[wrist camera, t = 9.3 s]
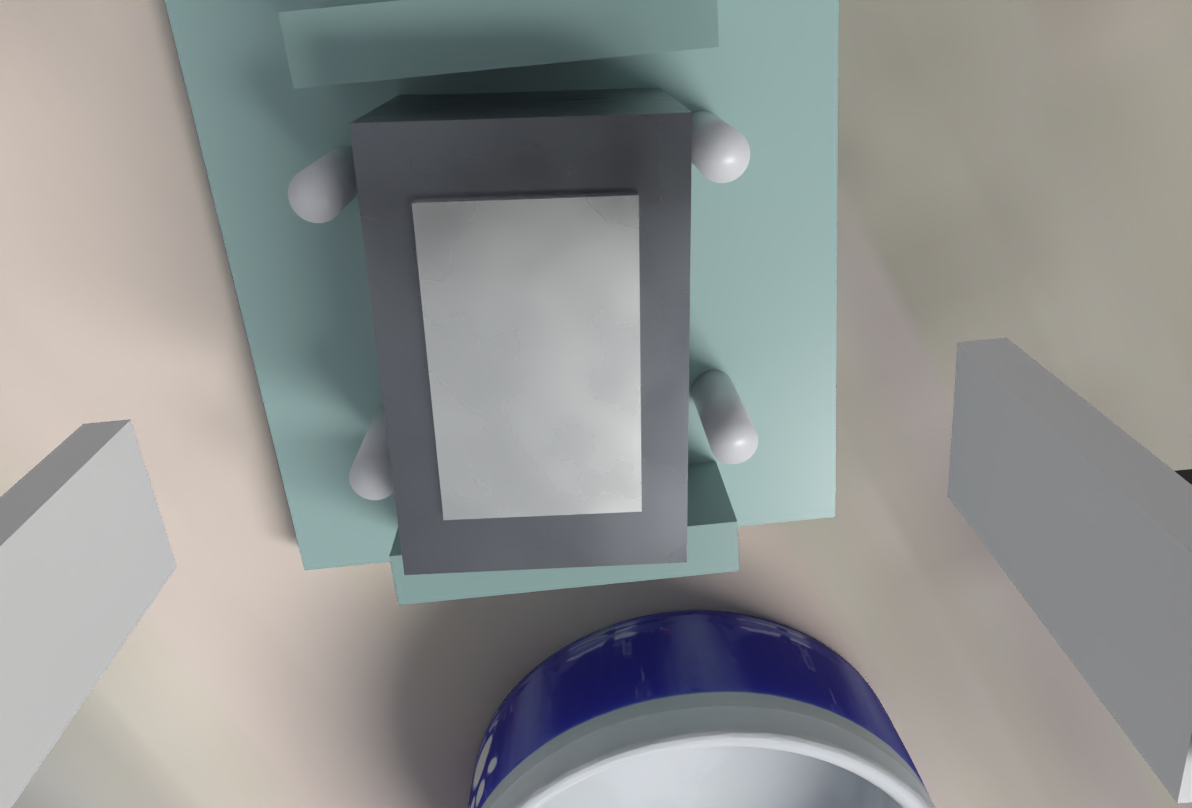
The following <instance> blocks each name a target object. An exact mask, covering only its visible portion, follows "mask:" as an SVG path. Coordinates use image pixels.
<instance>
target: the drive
mask: <svg viewBox="0 0 1192 808" xmlns="http://www.w3.org/2000/svg"><path fill="white" fill-rule="evenodd" d="M349 126H350V134H351V142H352V150H353V159H354V167H355V175H356V183H357V191H358V199H359V208H360V216H361V224H362V232H363V240H364V249H365V257H366V265H367V273H368V281H369V290H370V298H371V306H372V314H373V322H374V331H375V339H376V347H377V355H378V363H379V371H380V380H381V388H382V396H383V404H384V412H385V421H386V429H387V437H388V445H389V453H390V462H391V470H392V478H393V486H394V494H395V503H396V511H397V519H398V527H399V535H400V543H401V552H402V560H403V568H404V575H419V574H441V573H463V572H485V571H507V570H529V569H552V568H574V567H596V566H618V565H640V564H662V563H685V562H687V509H688V423H689V337H690V251H691V165H692V112H691V111H690V110H688V109H687V108H686V107H685V106H683V105H682V104H681V103H679V102H678V101H677V100H675V99H674V98H673V97H672V96H670V95H669V94H668V93H666V92H665V91H664V90H663V89H661V88H660V87H657V88H625V89H593V90H561V91H529V92H498V93H466V94H434V95H402V96H396V97H394V98H392V99H391V100H389V101H387V102H385V103H384V104H382V105H380V106H378V107H377V108H375V109H373V110H372V111H370V112H368V113H366V114H365V115H363V116H361V117H359V118H358V119H356V120H354V121H352V122H351V123H349Z"/></svg>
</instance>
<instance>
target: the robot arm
mask: <svg viewBox="0 0 1192 808" xmlns="http://www.w3.org/2000/svg"><path fill="white" fill-rule="evenodd" d="M948 497H949V498H950V500H951V501H952V502H953V504H954V505H955V506H956V508H957V509H958V510H959V512H960V513H961V514H962V516H963V517H964V518H965V520H966V521H967V522H968V524H969V525H970V526H971V528H972V529H973V530H974V532H975V533H976V534H977V536H978V537H979V538H980V540H981V541H982V542H983V544H984V545H985V546H986V548H987V549H988V550H989V552H990V553H991V555H992V556H993V557H994V559H995V560H996V561H997V563H998V564H999V565H1000V567H1001V568H1002V569H1003V571H1004V572H1005V573H1006V575H1007V576H1008V577H1009V579H1010V580H1011V581H1012V583H1013V584H1014V585H1015V587H1016V588H1017V589H1018V591H1019V592H1020V593H1021V595H1022V596H1023V597H1024V599H1025V600H1026V601H1027V603H1028V604H1029V605H1030V607H1031V608H1032V609H1033V611H1034V612H1035V613H1036V615H1037V616H1038V617H1039V619H1040V620H1041V621H1042V623H1043V624H1044V625H1045V627H1046V628H1047V629H1048V631H1049V632H1050V633H1051V635H1052V636H1053V637H1054V639H1055V640H1056V641H1057V643H1058V644H1059V646H1060V647H1061V648H1062V650H1063V651H1064V652H1065V654H1066V655H1067V656H1068V658H1069V659H1070V660H1071V662H1072V663H1073V664H1074V666H1075V667H1076V668H1077V670H1078V671H1079V672H1080V674H1081V675H1082V676H1083V678H1084V679H1085V680H1086V682H1087V683H1088V684H1089V686H1090V687H1091V688H1092V690H1093V691H1094V692H1095V694H1096V695H1097V696H1098V698H1099V699H1100V700H1101V702H1102V703H1103V704H1104V706H1105V707H1106V708H1107V710H1108V711H1109V712H1110V714H1111V715H1112V716H1113V718H1114V719H1115V720H1116V722H1117V723H1118V724H1119V726H1120V727H1121V728H1122V730H1123V731H1124V732H1125V734H1126V735H1127V737H1128V738H1129V739H1130V741H1131V742H1132V743H1133V745H1134V746H1135V747H1136V749H1137V750H1138V751H1139V753H1140V754H1141V755H1142V757H1143V758H1144V759H1145V761H1146V762H1147V763H1148V765H1149V766H1150V767H1151V769H1152V770H1153V771H1154V773H1155V774H1156V775H1157V777H1158V778H1159V779H1160V781H1161V782H1162V783H1163V785H1164V786H1165V787H1166V789H1167V790H1168V791H1169V793H1170V794H1171V795H1172V797H1173V798H1174V799H1175V801H1176V802H1177V803H1186V802H1192V469H1190V470H1179V471H1174V470H1172V469H1171V468H1170V467H1168V466H1167V465H1166V464H1165V463H1163V462H1162V461H1161V460H1160V459H1158V458H1157V457H1156V456H1155V455H1153V454H1152V453H1151V452H1150V451H1148V450H1147V449H1146V448H1145V447H1143V446H1142V445H1141V444H1140V443H1138V442H1137V441H1136V440H1134V439H1133V438H1132V437H1131V436H1129V435H1128V434H1127V433H1126V432H1124V431H1123V430H1122V429H1121V428H1119V427H1118V426H1117V425H1116V424H1114V423H1113V422H1112V421H1111V420H1109V419H1108V418H1107V417H1106V416H1104V415H1103V414H1102V413H1100V412H1099V411H1098V410H1097V409H1095V408H1094V407H1093V406H1092V405H1090V404H1089V403H1088V402H1087V401H1085V400H1084V399H1083V398H1082V397H1080V396H1079V395H1078V394H1077V393H1075V392H1074V391H1073V390H1072V389H1070V388H1069V387H1068V386H1067V385H1065V384H1064V383H1063V382H1061V381H1060V380H1059V379H1058V378H1056V377H1055V376H1054V375H1053V374H1051V373H1050V372H1049V371H1048V370H1046V369H1045V368H1044V367H1043V366H1041V365H1040V364H1039V363H1038V362H1036V361H1035V360H1034V359H1033V358H1031V357H1030V356H1029V355H1027V354H1026V353H1025V352H1024V351H1022V350H1021V349H1020V348H1019V347H1017V346H1016V345H1015V344H1014V343H1012V342H1011V341H1010V340H1009V339H1007V338H999V339H988V340H977V341H966V342H958V343H957V359H956V375H955V391H954V407H953V422H952V438H951V454H950V470H949V486H948ZM176 567H177V566H176V562H175V559H174V556H173V553H172V550H171V546H170V543H169V540H168V537H167V534H166V530H165V527H164V524H163V521H162V518H161V514H160V511H159V508H158V505H157V502H156V498H155V495H154V492H153V489H152V486H151V482H150V479H149V476H148V473H147V470H146V466H145V463H144V460H143V457H142V454H141V450H140V447H139V444H138V441H137V438H136V434H135V431H134V428H133V425H132V422H131V420H121V421H110V422H100V423H89V424H83V425H82V426H80V427H79V428H78V429H77V430H76V431H75V432H74V433H73V434H71V435H70V436H69V437H68V438H67V439H66V440H65V441H63V442H62V443H61V444H60V445H59V446H58V447H57V448H56V449H54V450H53V451H52V452H51V453H50V454H49V455H48V456H47V457H45V458H44V459H43V460H42V461H41V462H40V463H39V464H38V465H36V466H35V467H34V468H33V469H32V470H31V471H30V472H29V473H27V474H26V475H25V476H24V477H23V478H22V479H21V480H19V481H18V482H17V483H16V484H15V485H14V486H13V487H12V488H10V489H9V490H8V491H7V492H6V493H5V494H4V495H3V496H1V497H0V808H11V807H12V806H13V804H14V803H15V801H16V800H17V798H18V797H19V795H20V794H21V793H22V791H23V790H24V788H25V787H26V785H27V784H28V782H29V781H30V779H31V778H32V777H33V775H34V774H35V772H36V771H37V769H38V768H39V766H40V765H41V763H42V762H43V761H44V759H45V758H46V756H47V755H48V753H49V752H50V750H51V749H52V747H53V746H54V744H55V743H56V742H57V740H58V739H59V737H60V736H61V734H62V733H63V731H64V730H65V728H66V727H67V726H68V724H69V723H70V721H71V720H72V718H73V717H74V715H75V714H76V712H77V711H78V710H79V708H80V707H81V705H82V704H83V702H84V701H85V699H86V698H87V696H88V695H89V694H90V692H91V691H92V689H93V688H94V686H95V685H96V683H97V682H98V680H99V679H100V677H101V676H102V675H103V673H104V672H105V670H106V669H107V667H108V666H109V664H110V663H111V661H112V660H113V659H114V657H115V656H116V654H117V653H118V651H119V650H120V648H121V647H122V645H123V644H124V643H125V641H126V640H127V638H128V637H129V635H130V634H131V632H132V631H133V629H134V628H135V626H136V625H137V624H138V622H139V621H140V619H141V618H142V616H143V615H144V613H145V612H146V610H147V609H148V608H149V606H150V605H151V603H152V602H153V600H154V599H155V597H156V596H157V594H158V593H159V592H160V590H161V589H162V587H163V586H164V584H165V583H166V581H167V580H168V578H169V577H170V575H171V574H172V573H173V571H174V570H175V568H176Z"/></svg>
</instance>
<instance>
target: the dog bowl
mask: <svg viewBox="0 0 1192 808" xmlns="http://www.w3.org/2000/svg"><path fill="white" fill-rule="evenodd" d="M468 808H936V807H935V806H934V804H933V802H932V800H931V798H930V796H929V794H928V792H927V790H926V788H925V786H924V784H923V782H922V780H921V778H920V776H919V774H918V772H917V770H916V768H915V766H914V764H913V762H912V760H911V758H910V756H909V754H908V752H907V750H906V748H905V746H904V745H903V743H902V741H901V739H900V737H899V735H898V733H897V731H896V730H895V728H894V726H893V724H892V722H891V720H890V718H889V716H888V714H887V713H886V711H885V709H884V707H883V706H882V704H881V702H880V700H879V699H878V697H877V696H876V694H875V693H874V692H873V690H872V689H871V687H870V686H869V685H868V683H867V682H866V681H865V680H864V679H863V677H862V676H861V675H860V674H859V673H858V672H857V671H856V670H855V669H854V668H853V667H852V666H851V665H850V664H849V663H848V662H847V661H845V660H844V659H843V658H842V657H841V656H839V655H838V654H837V653H835V652H834V651H832V650H831V649H830V648H828V647H826V646H825V645H823V644H821V643H820V642H818V641H816V640H814V639H812V638H810V637H808V636H806V635H804V634H802V633H800V632H798V631H796V630H794V629H791V628H788V627H785V626H783V625H780V624H777V623H774V622H771V621H767V620H764V619H760V618H756V617H751V616H747V615H742V614H735V613H728V612H718V611H680V612H668V613H661V614H655V615H649V616H644V617H640V618H636V619H632V620H629V621H625V622H621V623H618V624H615V625H613V626H610V627H607V628H604V629H602V630H599V631H597V632H595V633H592V634H590V635H588V636H586V637H584V638H582V639H580V640H578V641H576V642H574V643H572V644H570V645H568V646H567V647H565V648H563V649H561V650H560V651H558V652H557V653H555V654H554V655H552V656H551V657H549V658H548V659H547V660H545V661H544V662H543V663H541V664H540V665H539V666H537V667H536V668H535V669H534V670H533V671H532V672H530V673H529V674H528V675H527V676H526V677H525V678H524V679H523V680H522V681H521V682H519V684H518V685H517V686H516V687H515V688H514V689H513V690H512V691H511V693H510V694H509V695H508V696H507V697H506V699H505V700H504V702H503V703H502V704H501V706H500V707H499V708H498V710H497V711H496V713H495V715H494V716H493V718H492V720H491V722H490V724H489V726H488V728H487V730H486V732H485V735H484V738H483V740H482V743H481V745H480V749H479V752H478V755H477V759H476V765H475V770H474V775H473V781H472V787H471V792H470V798H469V804H468Z"/></svg>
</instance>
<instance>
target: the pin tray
mask: <svg viewBox="0 0 1192 808" xmlns="http://www.w3.org/2000/svg"><path fill="white" fill-rule="evenodd" d="M165 4H166V8H167V12H168V16H169V20H170V24H171V28H172V32H173V36H174V40H175V45H176V49H177V53H178V57H179V61H180V65H181V69H182V73H183V77H184V81H185V85H186V89H187V93H188V97H189V102H190V106H191V110H192V114H193V118H194V122H195V126H196V130H197V134H198V138H199V142H200V146H201V150H202V154H203V159H204V163H205V167H206V171H207V175H208V179H209V183H210V187H211V191H212V195H213V199H214V203H215V207H216V211H217V216H218V220H219V224H220V228H221V232H222V236H223V240H224V244H225V248H226V252H227V256H228V260H229V264H230V268H231V273H232V277H233V281H234V285H235V289H236V293H237V297H238V301H239V305H240V309H241V313H242V317H243V321H244V325H245V329H246V334H247V338H248V342H249V346H250V350H251V354H252V358H253V362H254V366H255V370H256V374H257V378H258V382H259V386H260V391H261V395H262V399H263V403H264V407H265V411H266V415H267V419H268V423H269V427H270V431H271V435H272V439H273V443H274V448H275V452H276V456H277V460H278V464H279V468H280V472H281V476H282V480H283V484H284V488H285V492H286V496H287V500H288V505H289V509H290V513H291V517H292V521H293V525H294V529H295V533H296V537H297V541H298V545H299V549H300V553H301V557H302V562H303V566H304V570H312V569H322V568H332V567H342V566H352V565H362V564H372V563H382V562H390V563H391V568H392V573H393V578H394V582H395V587H396V592H397V597H398V602H399V605H406V604H416V603H426V602H436V601H446V600H456V599H466V598H476V597H486V596H496V595H506V594H516V593H526V592H536V591H546V590H555V589H565V588H575V587H585V586H595V585H605V584H615V583H625V582H635V581H645V580H655V579H665V578H675V577H685V576H695V575H705V574H715V573H724V572H734V571H739V552H738V527H740V526H750V525H760V524H770V523H780V522H790V521H800V520H810V519H820V518H830V517H835V457H836V311H837V165H838V19H839V0H165ZM657 87H660V88H661V89H663V90H664V91H665V92H666V93H668V94H669V95H670V96H672V97H673V98H674V99H675V100H677V101H678V102H679V103H681V104H682V105H683V106H685V107H686V108H687V109H688V110H690V111H691V112H692V165H691V251H690V337H689V423H688V509H687V562H685V563H662V564H640V565H618V566H596V567H574V568H552V569H529V570H507V571H485V572H463V573H441V574H419V575H404V568H403V560H402V552H401V543H400V535H399V527H398V519H397V511H396V503H395V494H394V486H393V478H392V470H391V462H390V453H389V445H388V437H387V429H386V421H385V412H384V404H383V396H382V388H381V380H380V371H379V363H378V355H377V347H376V339H375V331H374V322H373V314H372V306H371V298H370V290H369V281H368V273H367V265H366V257H365V249H364V240H363V232H362V224H361V216H360V208H359V199H358V191H357V183H356V175H355V167H354V159H353V150H352V142H351V134H350V126H349V123H351V122H352V121H354V120H356V119H358V118H359V117H361V116H363V115H365V114H366V113H368V112H370V111H372V110H373V109H375V108H377V107H378V106H380V105H382V104H384V103H385V102H387V101H389V100H391V99H392V98H394V97H396V96H402V95H434V94H466V93H498V92H529V91H561V90H593V89H625V88H657Z"/></svg>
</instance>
